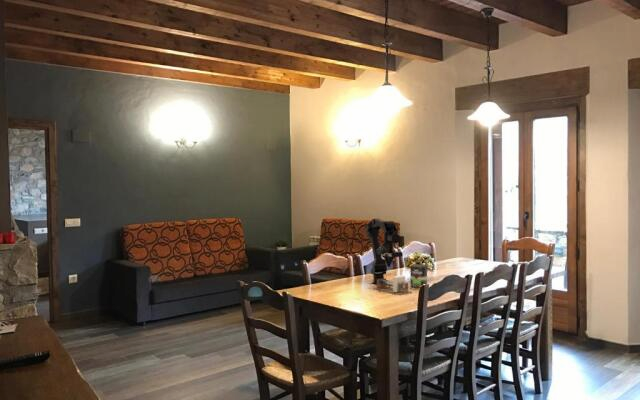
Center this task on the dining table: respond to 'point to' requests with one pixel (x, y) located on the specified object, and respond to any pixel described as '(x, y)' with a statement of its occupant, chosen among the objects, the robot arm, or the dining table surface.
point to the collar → (395, 282)
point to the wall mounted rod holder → (389, 290)
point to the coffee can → (418, 276)
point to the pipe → (390, 283)
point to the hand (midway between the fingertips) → (388, 267)
